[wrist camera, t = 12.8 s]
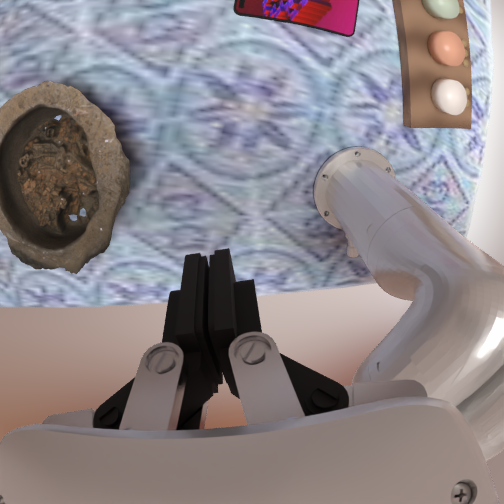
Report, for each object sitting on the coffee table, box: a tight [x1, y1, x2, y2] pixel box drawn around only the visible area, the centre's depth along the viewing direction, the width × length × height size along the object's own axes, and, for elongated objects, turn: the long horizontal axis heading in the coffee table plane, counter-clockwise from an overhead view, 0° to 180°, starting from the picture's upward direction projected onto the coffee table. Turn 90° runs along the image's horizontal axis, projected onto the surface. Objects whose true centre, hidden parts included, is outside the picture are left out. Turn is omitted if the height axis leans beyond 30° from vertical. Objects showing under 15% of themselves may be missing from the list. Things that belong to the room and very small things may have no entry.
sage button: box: [422, 0, 459, 19], centre depth 23 cm, size 5×5×2 cm
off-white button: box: [431, 78, 467, 115], centre depth 31 cm, size 5×5×2 cm
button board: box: [393, 0, 472, 129], centre depth 29 cm, size 24×12×2 cm, turn 9°
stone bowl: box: [0, 81, 130, 274], centre depth 32 cm, size 25×25×9 cm
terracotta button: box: [428, 31, 465, 66], centre depth 27 cm, size 5×5×2 cm
